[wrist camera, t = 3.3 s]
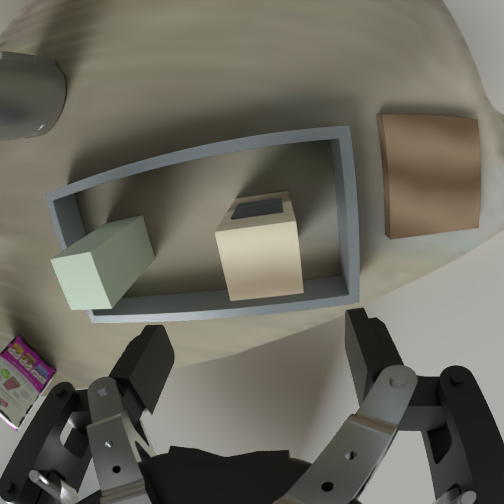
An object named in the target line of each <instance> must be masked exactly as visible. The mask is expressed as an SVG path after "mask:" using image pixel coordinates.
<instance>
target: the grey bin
mask: <svg viewBox="0 0 504 504" xmlns="http://www.w3.org/2000/svg"><path fill="white" fill-rule="evenodd" d="M327 139H330V146H331V154H332V162H333V170H334V179H335V189H336V200H337V212H338V225H339V241H340V263H341V276H334V277H326V278H318V279H311V280H303V291H304V293H299V294H291V295H282V296H274V297H264V298H255V299H245V300H235V301H230V297H229V293H228V289H222V290H212V291H201V292H190V293H178V294H166V295H153V296H140V297H125V298H121V299H120V300H119V301H118V302H117V303H116V305H115V306H114V307H113V308H112V309H85V310H86V312H87V314H88V316H89V318H90V321H91V323H125V322H162V321H184V320H202V319H217V318H230V317H242V316H253V315H264V314H274V313H283V312H292V311H300V310H309V309H316V308H324V307H331V306H338V305H345V304H352V303H358V302H359V287H360V253H359V221H358V203H357V189H356V178H355V167H354V158H353V149H352V141H351V133H350V126H349V125H348V126H333V127H320V128H310V129H300V130H292V131H283V132H276V133H269V134H262V135H255V136H249V137H243V138H237V139H232V140H226V141H221V142H216V143H211V144H206V145H202V146H197V147H193V148H188V149H184V150H180V151H176V152H172V153H168V154H164V155H160V156H156V157H152V158H149V159H145V160H141V161H138V162H135V163H131V164H128V165H124V166H121V167H118V168H115V169H112V170H109V171H106V172H103V173H100V174H97V175H94V176H91V177H88V178H85V179H82V180H80V181H77V182H74V183H72V184H69V185H66V186H64V187H61V188H59V189H56V190H54V191H51V192H49V193H46V194H45V196H46V200H47V204H48V208H49V211H50V215H51V218H52V222H53V225H54V229H55V232H56V235H57V238H58V241H59V244H60V247H61V250H62V251H63V250H65V249H66V248H68V247H69V246H71V245H72V244H74V243H75V242H77V241H78V240H80V239H82V238H83V237H85V236H86V233H85V230H84V226H83V223H82V220H81V216H80V212H79V209H78V205H77V201H76V197H75V192H78V191H81V190H84V189H87V188H90V187H93V186H97V185H100V184H103V183H106V182H109V181H113V180H116V179H119V178H123V177H126V176H130V175H133V174H137V173H141V172H144V171H148V170H152V169H156V168H160V167H164V166H168V165H172V164H177V163H181V162H185V161H190V160H194V159H199V158H204V157H209V156H214V155H219V154H224V153H230V152H235V151H241V150H247V149H254V148H260V147H267V146H274V145H281V144H289V143H297V142H306V141H316V140H327Z"/></svg>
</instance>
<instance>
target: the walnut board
mask: <svg viewBox="0 0 504 504" xmlns="http://www.w3.org/2000/svg"><path fill="white" fill-rule="evenodd" d="M377 121H378V129H379V137H380V146H381V156H382V167H383V181H384V200H385V235H386V236H387V237H388V238H389V239H397V238H405V237H412V236H420V235H428V234H435V233H443V232H450V231H458V230H465V229H473V228H478V227H479V215H480V196H481V160H480V141H479V129H478V120H476V119H468V118H459V117H448V116H434V115H413V114H380V115H377Z"/></svg>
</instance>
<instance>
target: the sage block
mask: <svg viewBox="0 0 504 504" xmlns="http://www.w3.org/2000/svg"><path fill="white" fill-rule="evenodd" d="M154 259H155V257H154V253H153V250H152V247H151V243H150V240H149V236H148V233H147V229H146V225H145V222H144V218H143V215H141V216H137V217H132V218H127V219H123V220H118V221H114V222H109V223H106V224H104V225H102V226H101V227H99V228H97V229H96V230H94V231H93V232H91V233H89V234H88V235H86V236H85V237H83V238H82V239H80V240H78V241H77V242H75V243H74V244H72V245H71V246H69V247H68V248H66V249H65V250H63V251H62V252H60V253H59V254H57V255H56V256H55V257H53V258H52V259H51V262H52V265H53V267H54V270H55V272H56V275H57V277H58V280H59V282H60V285H61V287H62V290H63V292H64V294H65V296H66V299H67V301H68V303H69V305H70V308H71V310H84V309H112V308H113V307H114V306H115V305H116V303H117V302H118V301H119V300H120V299H121V297H122V296H123V295H124V294H125V293H126V291H127V290H128V289H129V288H130V287H131V286H132V284H133V283H134V282H135V281H136V280H137V279H138V278H139V276H140V275H141V274H142V273H143V272H144V271H145V270H146V268H147V267H148V266H149V265H150V264H151V263H152V262H153V261H154Z"/></svg>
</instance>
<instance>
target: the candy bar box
mask: <svg viewBox="0 0 504 504" xmlns="http://www.w3.org/2000/svg"><path fill="white" fill-rule="evenodd" d="M55 373H56V371H55V369H53V368H52V367H51V366H50V365H49V364H48V363H47V362H46V361H44V360H43V359H42V358H41V357H40V356H39V355H38V354H37V353H36V352H35V351H34V350H33V349H32V348H31V347H30V346H29V345H28V344H27V343H26V342H25V341H24V340H23V339H22V338H21V337H20V336H19V335H17V336H16V337H15V338H14V339H13V340H12V341H11V342H10V343H9V344H8V345H7V347H6V348H5V349H4V350H3V351H2V352H1V353H0V417H1V418H2V419H3V420H4V421H5V422H6V423H7V424H8V425H10V426H11V427H12V428H13V429H14V430H15V431H17V432H18V431H19V429H20V427H21V426H22V424H23V422H24V421H25V419H26V418H27V416H28V414H29V413H30V411H31V409H32V408H33V407H34V405H35V404H36V402H37V401H38V399H39V398H40V396H41V395H42V393H43V392H44V391H45V389H46V388H47V386H48V385H49V383H50V382H51V380H52V379H53V377H54V375H55Z"/></svg>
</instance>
